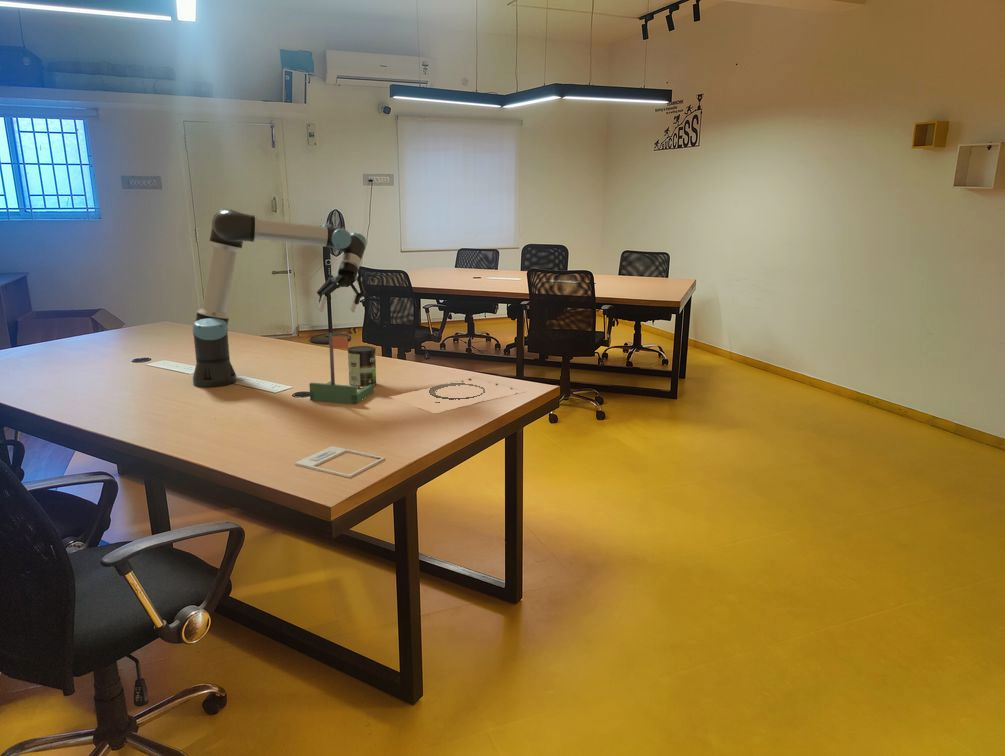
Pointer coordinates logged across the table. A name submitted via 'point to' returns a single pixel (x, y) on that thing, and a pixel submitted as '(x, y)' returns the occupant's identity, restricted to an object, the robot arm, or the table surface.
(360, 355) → the coffee can
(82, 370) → the table surface
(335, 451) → the photo frame
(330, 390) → the green frame
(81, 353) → the table surface
